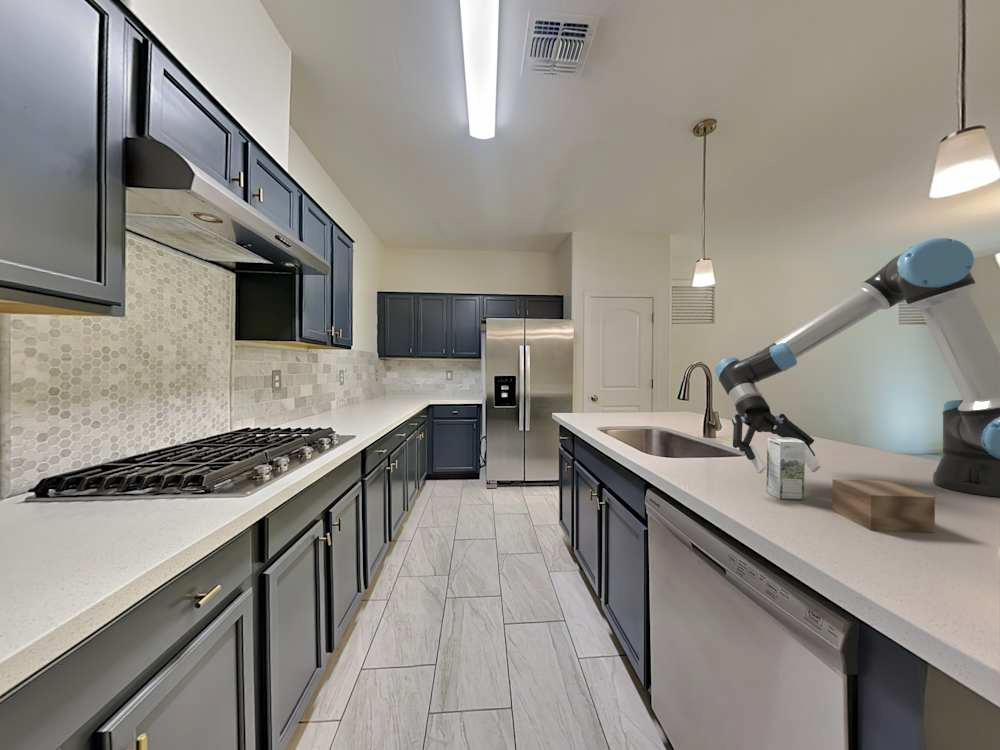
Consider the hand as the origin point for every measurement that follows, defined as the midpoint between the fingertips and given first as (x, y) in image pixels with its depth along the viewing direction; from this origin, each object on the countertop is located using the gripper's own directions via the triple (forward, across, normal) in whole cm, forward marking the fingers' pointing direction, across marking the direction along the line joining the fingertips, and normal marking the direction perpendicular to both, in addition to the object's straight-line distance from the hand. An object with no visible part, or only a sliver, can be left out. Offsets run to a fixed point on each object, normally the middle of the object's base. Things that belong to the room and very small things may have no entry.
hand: (789, 470), depth 97 cm
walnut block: (+15, -8, +5) cm, 18 cm away
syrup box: (+4, 0, -6) cm, 7 cm away
